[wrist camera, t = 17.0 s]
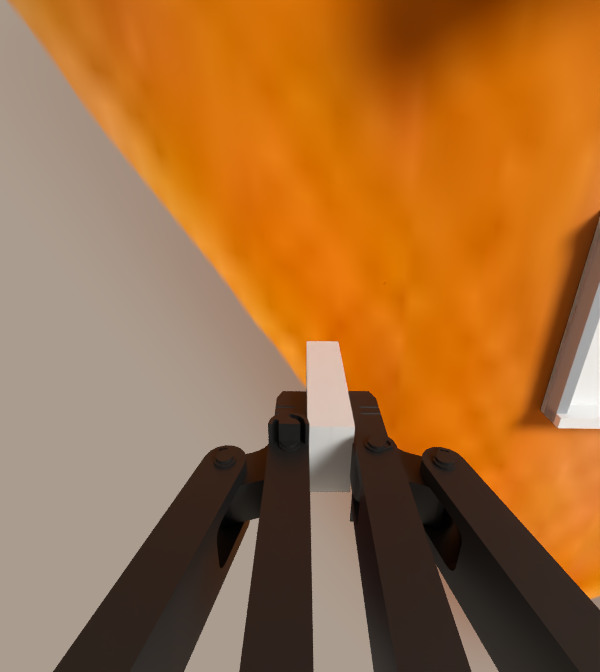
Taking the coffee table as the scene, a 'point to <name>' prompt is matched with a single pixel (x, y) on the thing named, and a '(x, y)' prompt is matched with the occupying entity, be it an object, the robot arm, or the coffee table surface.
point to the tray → (579, 355)
